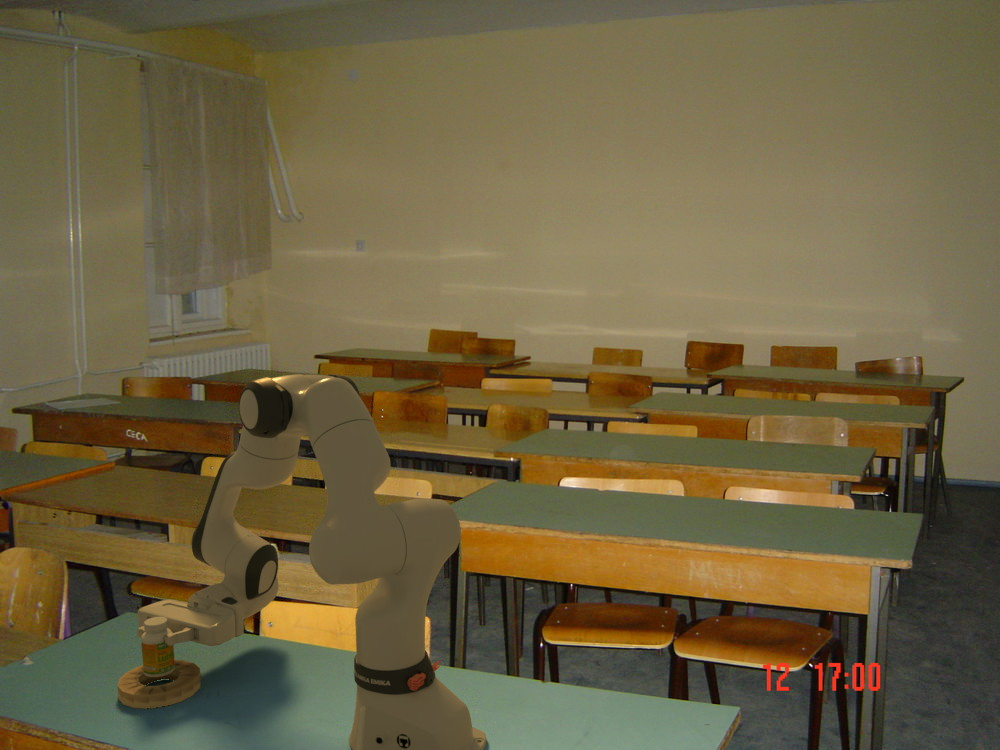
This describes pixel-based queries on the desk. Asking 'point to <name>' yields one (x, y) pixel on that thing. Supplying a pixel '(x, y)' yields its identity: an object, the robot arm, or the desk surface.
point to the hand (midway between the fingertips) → (152, 637)
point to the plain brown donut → (159, 686)
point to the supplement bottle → (156, 648)
